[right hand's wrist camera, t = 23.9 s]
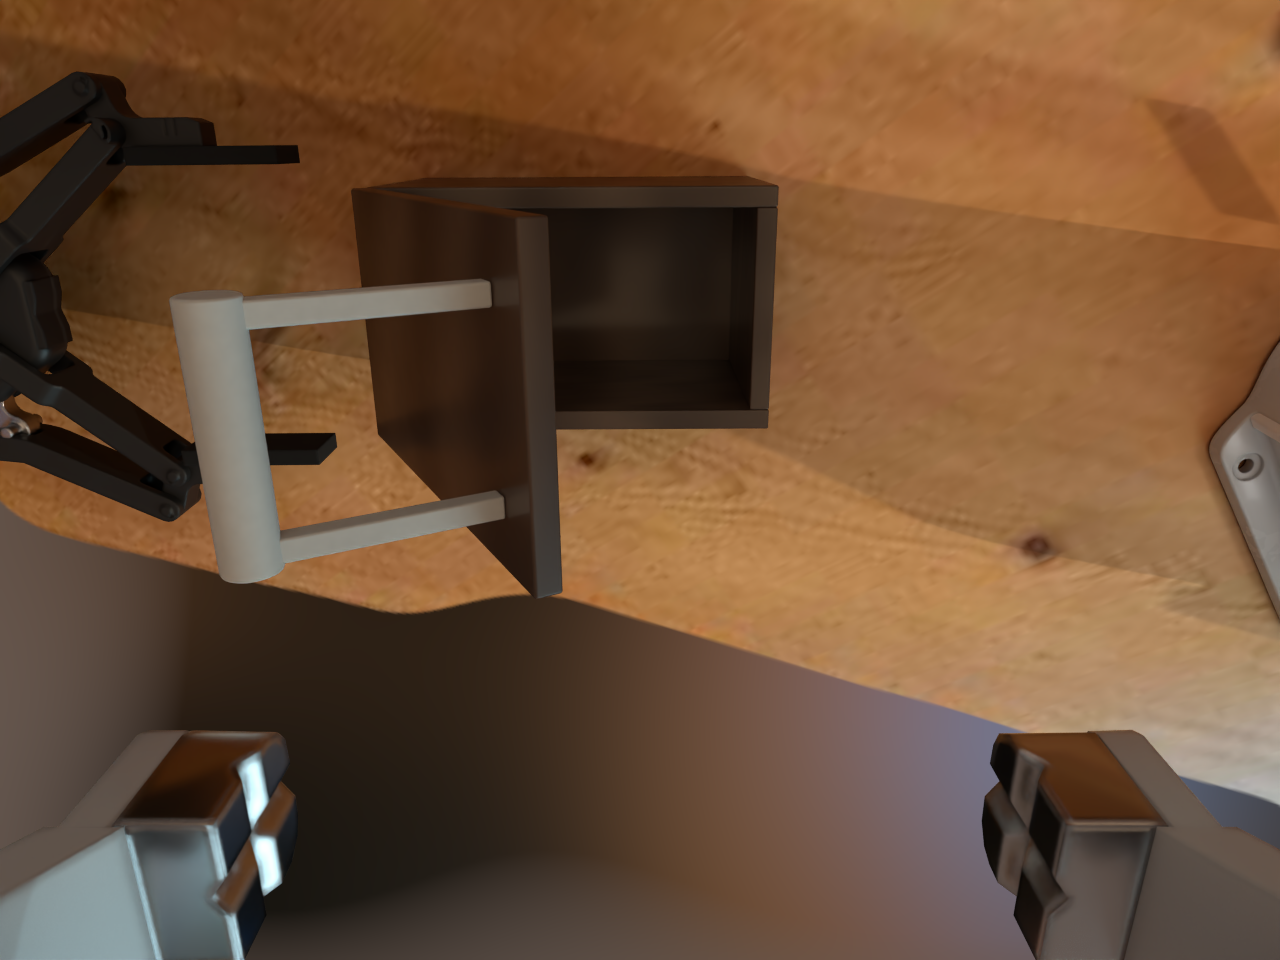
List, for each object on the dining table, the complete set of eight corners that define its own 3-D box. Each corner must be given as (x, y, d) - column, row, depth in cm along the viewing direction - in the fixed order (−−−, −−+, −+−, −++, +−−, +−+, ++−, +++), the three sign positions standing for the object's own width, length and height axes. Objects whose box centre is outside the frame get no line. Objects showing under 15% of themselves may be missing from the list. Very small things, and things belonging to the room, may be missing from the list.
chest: (748, 176, 47) (779, 185, 37) (742, 371, 51) (767, 428, 40) (424, 178, 47) (364, 187, 37) (440, 372, 51) (390, 430, 41)
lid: (548, 214, 22) (160, 232, 18) (563, 593, 26) (241, 674, 22) (372, 187, 37) (134, 194, 33) (397, 432, 40) (186, 464, 36)
